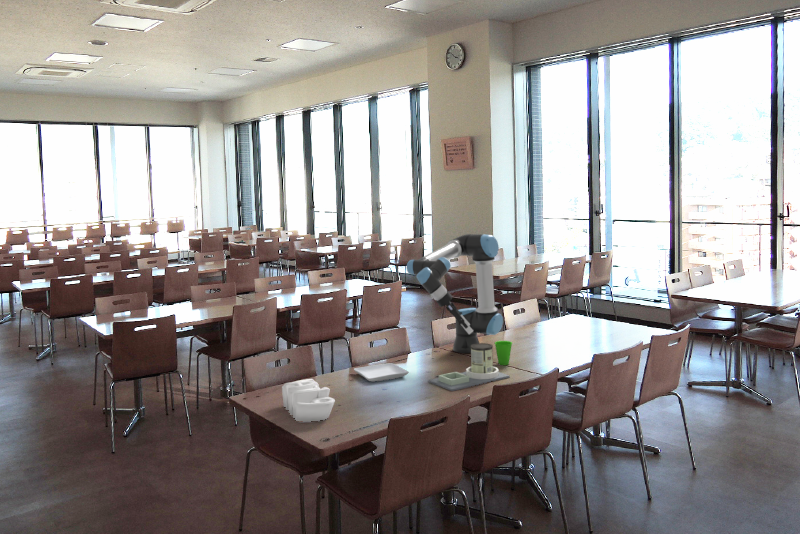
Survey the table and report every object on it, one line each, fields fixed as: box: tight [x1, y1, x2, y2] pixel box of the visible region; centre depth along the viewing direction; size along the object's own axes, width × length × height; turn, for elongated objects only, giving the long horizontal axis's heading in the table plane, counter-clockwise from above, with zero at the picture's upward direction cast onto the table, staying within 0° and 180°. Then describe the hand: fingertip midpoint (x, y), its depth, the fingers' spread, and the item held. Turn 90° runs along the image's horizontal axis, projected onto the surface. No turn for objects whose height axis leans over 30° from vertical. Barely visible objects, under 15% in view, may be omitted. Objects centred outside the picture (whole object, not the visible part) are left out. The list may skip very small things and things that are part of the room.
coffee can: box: [470, 342, 494, 373], centre depth 319 cm, size 10×10×14 cm
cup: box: [494, 340, 513, 366], centre depth 340 cm, size 9×9×11 cm
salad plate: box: [353, 362, 410, 383], centre depth 326 cm, size 21×21×3 cm
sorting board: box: [428, 366, 510, 392], centre depth 315 cm, size 18×34×4 cm, turn 123°
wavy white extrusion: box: [281, 378, 336, 423], centre depth 277 cm, size 35×16×11 cm, turn 21°
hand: (469, 329), depth 323 cm, fingers open, 13 cm apart
